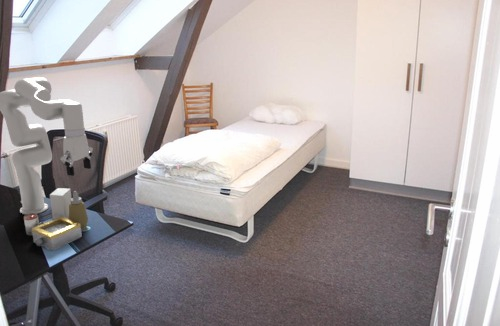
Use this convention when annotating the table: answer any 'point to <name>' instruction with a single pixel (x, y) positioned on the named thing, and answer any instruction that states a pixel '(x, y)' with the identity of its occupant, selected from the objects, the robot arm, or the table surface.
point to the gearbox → (56, 233)
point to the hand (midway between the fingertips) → (79, 171)
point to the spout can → (31, 222)
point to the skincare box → (60, 202)
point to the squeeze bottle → (78, 210)
